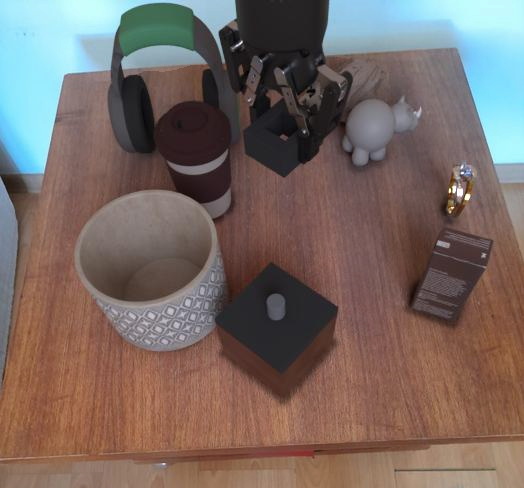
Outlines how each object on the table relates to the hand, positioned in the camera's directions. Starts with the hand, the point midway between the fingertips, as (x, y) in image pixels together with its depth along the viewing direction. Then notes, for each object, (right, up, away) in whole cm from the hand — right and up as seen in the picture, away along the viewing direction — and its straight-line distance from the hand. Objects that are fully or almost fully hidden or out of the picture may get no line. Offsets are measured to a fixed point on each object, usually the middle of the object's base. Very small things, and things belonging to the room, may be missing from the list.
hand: (284, 144), depth 52 cm
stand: (0, -22, +11) cm, 24 cm away
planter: (-15, -15, +15) cm, 26 cm away
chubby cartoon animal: (+16, +10, +26) cm, 32 cm away
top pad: (0, 0, 0) cm, 0 cm away
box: (+21, -16, +13) cm, 29 cm away
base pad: (-1, -18, +4) cm, 19 cm away
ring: (+25, -1, +20) cm, 32 cm away
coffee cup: (-11, +1, +23) cm, 25 cm away
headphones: (-15, +12, +28) cm, 34 cm away
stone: (+10, +17, +29) cm, 35 cm away
